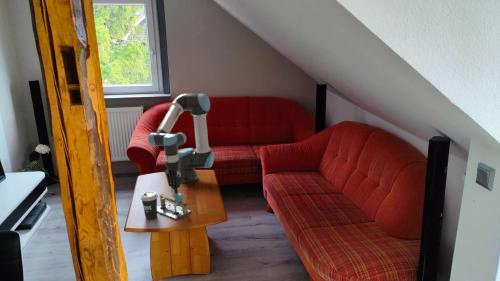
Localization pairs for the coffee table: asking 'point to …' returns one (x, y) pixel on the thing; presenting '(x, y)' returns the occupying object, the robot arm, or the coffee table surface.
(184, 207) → the wooden rail
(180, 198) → the slider block
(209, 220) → the coffee table surface
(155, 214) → the coffee cup
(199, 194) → the coffee table surface
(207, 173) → the coffee table surface
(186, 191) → the coffee table surface
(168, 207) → the bolt plate
